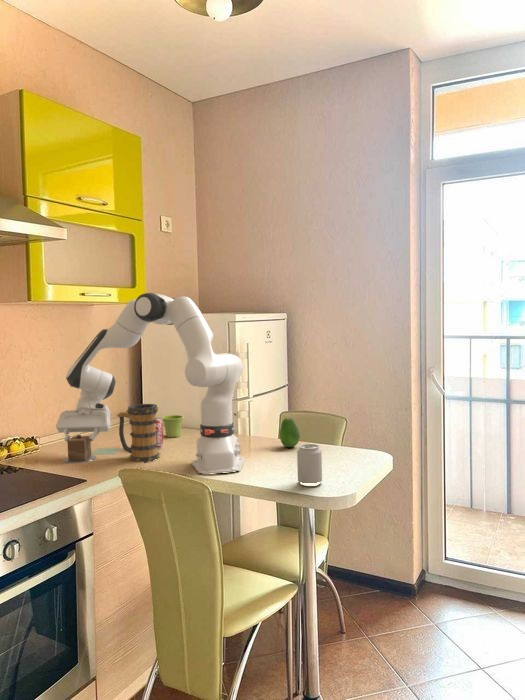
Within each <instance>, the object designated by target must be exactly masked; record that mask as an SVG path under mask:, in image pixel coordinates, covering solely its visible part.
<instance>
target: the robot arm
mask: <svg viewBox="0 0 525 700" xmlns="http://www.w3.org/2000/svg"><path fill="white" fill-rule="evenodd" d="M150 323H153V324H156V325H166V326H174V328H175V330H176V332H177V334H178V336H179V338H180V340H181V342H182V344H183V347H184V348H185V351H186V355H187V363H186V365H185V369H184V375H185V378H186V380H187V382H188V384H189V385H191V386H193V387H199V388H207V391H206V394H205V396H204V397H203V398H202V400H201V402H200V420H201V421H200V422H201V424H200V428H199V432H200V434H199V435H200V437H198V439H197V440H196V454H195V455H196V459H194V460H192V461H191V465H192V466H193V468H194V467H195V468H194V469H195V470H196V472H197V471H198V472H199V473H202V474H201V475H211V474H210V473H223V472H233V471H238V470H240V469H241V470H242V468H241V467H243V466H242V464H243V465H244V463H243V462H245V458H244V457H242V456H241V449H240V443H239V438H238V437H237V436H236V435H235V434H234V433H235V426H234V422H233V397H234V392H235V388H236V385H237V383H238V380H239V379H240V377H241V376H242V374H243V371H244V365H243V362H242V360H241V358H240V357H239V356H238V355H235V354H231V353H226V352H224V353H215V352H214V350H213V346H212V342H213V340H214V333H213V332H212V329H211V327H210V326H209V324H208V322H207V320H206V319H205V317H204V315H203V314H202V312H201V310H200V308H199V307H198V306H197V305H196V303H195V302H194V300H192V298H190V297H188V296H183V295H182V296H178V297H176V298H175V297H170V296H167V295H165V294H162V293H160V294H159V293H154V292H145V293H142V294H140V295H138V297H137V298H136V299H134V298H133V299H131V300H130V301H129V302H128V303H127V304H126V305H125V307H124V308H123V309H122V311H121V312H120V314H119V315H118V317H117V319H116V321H115V323H114V324H113V325H112V326H110V327H109V328H106V329H105V328H104V329H102V330H100V331H99V332H98V333H97V334H96V336H95V337H94V338H93V339H92V341H91V342H90V343H89V344H88V346H87V347H86V348H85V349H84V350H83V352H82V353H81V355H80V356H79V357H78V358H77V360H76V361H74V363H73V364H72V365H71V366H70V367H69V368H68V370H67V373H66V376H65V380H66V381H67V383H68V384H69V386H70V387H71V388H75V389H78V390H79V389H80V392H79V394H80V396H79V398H78V400H77V403H76V407H75V410H64V411H62V412H61V413H60V415H59V417H58V419H57V422H56V425H55V428H56V430H57V431H58V432H59V433H64V441H65V442H67V440H68V439H70V438H71V436H70V433H92V434H90V435H89V436H90V437H89V440H90V441H91V442H94V441H95V438H96V437H97V436H98V435H99V434H100V432H101V433H102V432H104V433H105V432H108V431H109V430H110V428H111V424H112V423H111V421H112V420H111V411H110V408H109V407H108V406H107V405H106V404H104V403H101V402H102V400H106V399H108V398H109V397H111V396H112V394H113V392H114V390H115V387H116V383H117V381H116V378H115V376H114V375H113V374H112V373H109V372H107V371H105V370H102V369H99V368H97V367H95V366H91V365H90V364H91V362H92V361H93V360H94V358H95V357H96V356H97V354H98V353H99V352H100V351H101V350H103V349H110V348H111V349H128V348H131V347H134V346H135V345H136V344H137V343H138V342H139V341H140V339H141V338H142V336H143V334H144V332H145V330H146V328H147V327H148V326H149V324H150ZM241 470H240V471H241ZM198 472H197V473H198ZM199 473H198V474H199Z"/></svg>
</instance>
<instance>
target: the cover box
mask: <svg viewBox="0 0 525 700" xmlns="http://www.w3.org/2000/svg"><path fill="white" fill-rule="evenodd" d="M89 437H90V435H81V434H77V435H76V436H75V435H74V436H72V437H70V439H68V440H67V441H66V443H67V458H68V461H86V460H87V459H89V458H90V457H91V453H92V441H90V440H89Z"/></svg>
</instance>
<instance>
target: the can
mask: <svg viewBox="0 0 525 700" xmlns="http://www.w3.org/2000/svg"><path fill="white" fill-rule="evenodd" d="M322 455H323V454H322V450H321V449H320V445H318V444H314V443H304V444H300V445H299V446H298V449H297V451H296V457H297V458H296V460H297V461H296V462H297V463H296V464H297V465H296V466H297V482H298V481H299V482H302V483H317V482H321V481H322V482H323V465H322V464H323V463H322V461H323V459H322V458H323V457H322ZM299 482H298V483H299Z"/></svg>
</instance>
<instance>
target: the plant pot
mask: <svg viewBox="0 0 525 700" xmlns="http://www.w3.org/2000/svg"><path fill="white" fill-rule="evenodd" d="M183 419H184V415H178V414H173V415H172V414H171V415H166V416H162V421H163V422H162V423H164V430H165V436H166V438H170V437H171V438H178V437H181V434H182V423H183Z"/></svg>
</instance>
